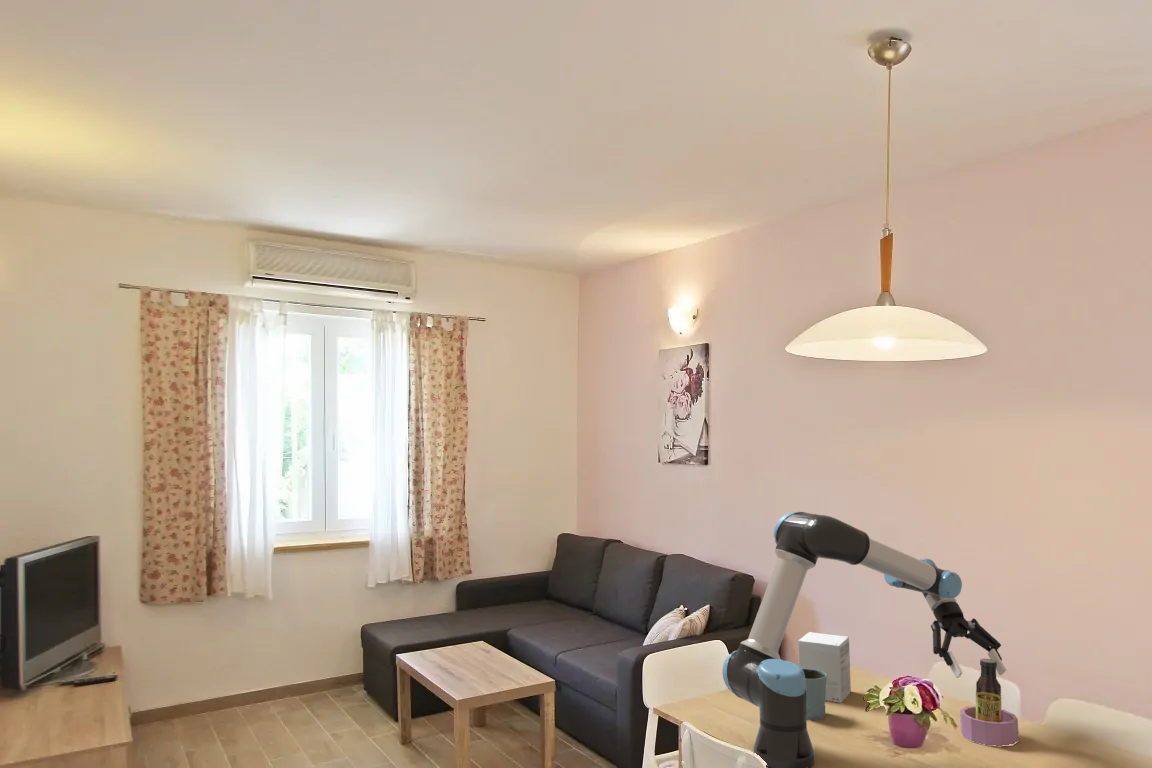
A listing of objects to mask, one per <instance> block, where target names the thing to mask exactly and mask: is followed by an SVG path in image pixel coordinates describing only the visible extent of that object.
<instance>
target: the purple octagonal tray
mask: <svg viewBox="0 0 1152 768" xmlns="http://www.w3.org/2000/svg"><path fill="white" fill-rule="evenodd" d="M959 712H960V713H959V714H960V717H959V718H960V733H961V732H962V733H961V736H962V735H963V736H964V737H965V738H964V737H963V736H962V737H963V738H964V739H966V738H967V739H966V740H968V739H969V740H968V741H970V740H971V741H970V742H972V741H974V742H973V743H975V742H978V743H981V744H980V745H982V744H985V745H984V746H986V745H996V746H1002V745H1009V744H1014V743H1015V742H1017V741H1020V739H1019V737H1020V736H1019V721H1018V717H1017V716H1016V715H1015V714H1014V713H1012V712H1009V711H1007V710H1005V709H1003V708H1001V722H989V721H983V720H979V719H976V705H973V706H964V707H963V708H961V709H959ZM978 743H977V744H978Z"/></svg>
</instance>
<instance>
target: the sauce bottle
mask: <svg viewBox="0 0 1152 768" xmlns="http://www.w3.org/2000/svg"><path fill="white" fill-rule="evenodd" d="M979 665H980V676H979V677H978V679H977V680H976V683H975V684H976V685H975V686H976V687H975V706H976V719H979V720H983V721H989V722H1001V709H1002V687H1001V684H1000V682H999V681H998V679H997V670H996V667H997V662H996V661H995V660H992V659H990V658H980V659H979Z"/></svg>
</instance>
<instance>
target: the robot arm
mask: <svg viewBox="0 0 1152 768" xmlns="http://www.w3.org/2000/svg"><path fill="white" fill-rule="evenodd" d="M773 537H774V542H775V544H776V545H775V546H776V547H775V549H774V552H775V554H776V556H777V560H776V562H775V565H774V568H773V570H772V572H771V576H770V578H769V581H768V584H767V587H766V590H765V592H764V595H763V596H762V600H761V603H760V605H759V608H758V611H757V613H756V615H755V616H756V617H755V618H754V622H753V624H752V627H751V630H750V632H749V635H748V638H747V639H745V640H742V641H741V642H740V643H739V646H738V649H737V650H734V651H732V653H729V654H728V655H727V656H726V658H725V660H724V662H723V665H722V679H723V681H724V685H725V686H726V688H727V689H728V690H729V692H731V693H732V694H733V695H735V696H736V697H737V698H739V699H742V700H744V701H746V702H749V703H750V704H752V705H754V706H756V707H759V726H758V727H759V728H758V731H757V734H756V738H755V741H754V745H753V754H754V753H756V754H757V755H759V756H760V757H761V758H762V759H763V760H764V761H765V762H766V763H767V765H768V768H811V767H813V765H814V764H815V762H816V755H815V754H816V753H815V750H814V746H813V743H812V741H811V737H810V734H809V732H808V725H807V724H808V723H807V720H808V719H807V718H806V681H805V674H804V672H803V670H802V669H801V668H800V667H799V664H796V663H794V662H792V661H789V660H783V659H781V656H780V654H779V650H780V648H781V645H782V641H783V640H784V637H785V633H786V631H787V628H788V625H789V622H790V620H791V617H792V614H793V611H794V608H795V607H796V603H797V600H798V597H799V595H800V593H801V589H802V586H803V583H804V581H805V578H806V575H807V573H808V571H809V570H810V569H812V568H815V567H816V564H817V562H818V559H824V560H825V559H827V560H833V561H838V562H839V561H840V562H844V563H847V564H849V565H851V566H857V565H860V566H861V565H862V567H866V568H868V569H871V570H872V571H876V572H878V573H881V574H882V575H883V577H884V581H885V582H886V583H887V584H888V585H889V586H891V587H896V588H899V589H905V590H910V591H914V592H919V593H922V595H923V597H924V599H925V601H926V602H927V604H928V607H929V608H930V610H931V611H932V614H933V616H934V617H935V619H936V620H934V621H933V622H932V623H931V625H930V628H931V631H932V653H933V654H934V655H938V656H939V657H940V658H943V660H944V662H945V664H946V666H949V667H950V669H951V671H952V674H953V676H954V677H955V678H956V679H959V678H960V677H961V675H963V670H962V669H961V667H960V665H959V663H958V661H957V659H956V657H955V656H954V654H953V651H951V650H950V651H949V648H950V645H951V641H952V637H953V638H958V637H959V638H964V637H965V639H969V640H970V641H972V642H974V643H976V644H977V645H978V646H979V647H981V648H983V650H985V651H987V652H988V653H987V655H988V657H989V659H992V660H995V661H996V662H997V667H996V673H998V675H999V676H1002V675H1004V674H1005V672H1006V671H1007V668H1006V666H1005V665H1004V663H1003V662H1002V661H1003V659H1002V656H1001V654H1000V653H999V651H998V650H999V649H1000V648H1001V646H1002V644H1001V643H1000V641H998V640H997V639H996V638H994V637H993V635H991V634H990V633H989V632H988V631H987V630H986V629H985V628H984V627H983V626H981V625H980V623H979V622H978V620H977V619H976V618H975V617H974V618H972V619H970V620H966V619H965V616H964V612H963V610H962V609H961V606H960V605H959V603H958V602H957V599H956V598H957V597H959V595H960V594H961V592H962V588H963V581H962V578H961V576H960V574H958V573H956V572H954V571H951V570H948V569H941V568H939V567H938V566H937V565H936V563H935V562H934V561H933V560H932V559H930V558H924V559H923V558H921V559H919V558H916V557H914V556H912V555H909V554H907V553H904V552H902V551H899V550H897V549H895V548H893V547H891V546H889V545H886V544H884V543H881V542H879V541H877V540H875V539H872V538H870V536H869V535H868V533H867V532H865V531H863V530H860V529H859V528H856V527H854V526H852V525H851V524H848V523H846V522H844V521H842V520H839V519H838V518H835V517H832V516H829V515H825V514H824V515H823V514H822V515H821V514H816V513H809V512H804V511H796V512H795V511H792V512H791V511H790V512H787V513H786V514H783V515H782V516H781V517H779V519H778V520H777V522H776V523H775V526H774V529H773ZM941 630H942V631H944V632H945V633H944V639H943V642H942V638H941V637H942V632H941Z"/></svg>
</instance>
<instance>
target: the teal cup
mask: <svg viewBox="0 0 1152 768" xmlns="http://www.w3.org/2000/svg"><path fill="white" fill-rule="evenodd" d="M802 670H803V672H804V674H805V681H806V718H807V720H811V719H812V721H813V720H821V719H824V718H825V716H826V700H825V697H826V693H825V692H826V677H827V675H826V673H824V672H822V671H820V670H815V669H807V668H803V669H802Z"/></svg>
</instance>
